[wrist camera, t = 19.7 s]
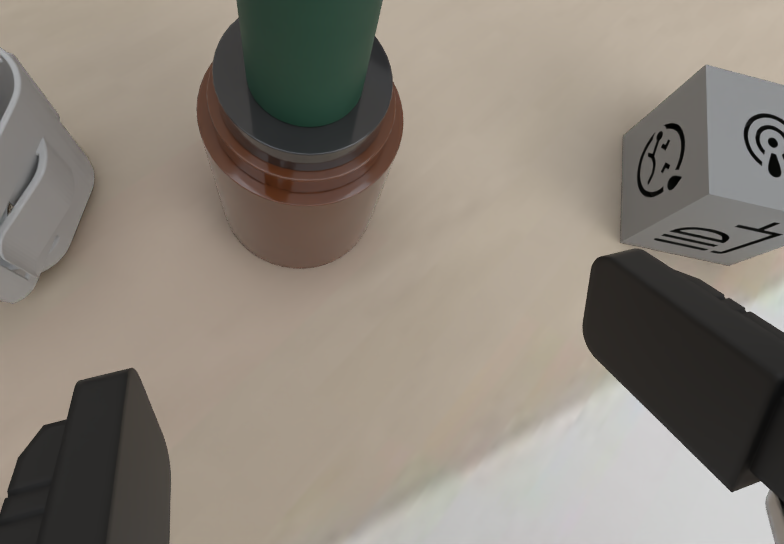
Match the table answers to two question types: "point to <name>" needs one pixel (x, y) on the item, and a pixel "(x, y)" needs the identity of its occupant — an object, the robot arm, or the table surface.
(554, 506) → the table surface
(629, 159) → the icon cube
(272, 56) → the green bottle
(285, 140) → the brown bottle
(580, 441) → the table surface
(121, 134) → the table surface
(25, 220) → the cable organizer
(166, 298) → the table surface
